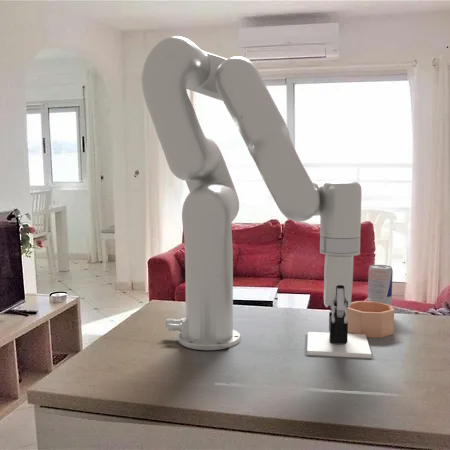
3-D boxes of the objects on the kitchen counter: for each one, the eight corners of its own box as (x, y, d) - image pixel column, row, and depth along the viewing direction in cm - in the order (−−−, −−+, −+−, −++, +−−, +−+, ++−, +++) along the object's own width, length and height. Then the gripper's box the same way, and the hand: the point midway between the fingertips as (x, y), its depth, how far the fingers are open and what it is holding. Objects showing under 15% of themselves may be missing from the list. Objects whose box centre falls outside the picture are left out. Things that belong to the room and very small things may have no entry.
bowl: (347, 337, 114) (347, 311, 113) (344, 324, 124) (345, 300, 123) (395, 340, 113) (396, 313, 112) (389, 326, 122) (389, 302, 121)
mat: (304, 357, 103) (304, 355, 103) (305, 336, 115) (305, 334, 115) (374, 361, 101) (374, 359, 101) (367, 339, 113) (367, 337, 113)
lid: (307, 354, 103) (307, 324, 102) (307, 335, 114) (308, 308, 114) (371, 358, 101) (372, 327, 101) (365, 338, 113) (366, 310, 112)
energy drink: (393, 316, 130) (395, 265, 129) (387, 321, 126) (388, 269, 124) (371, 312, 133) (372, 263, 132) (364, 318, 128) (365, 267, 127)
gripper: (319, 239, 115) (317, 323, 117) (320, 252, 98) (318, 351, 100) (356, 239, 113) (354, 325, 115) (364, 253, 97) (361, 353, 99)
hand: (337, 336), depth 108 cm, fingers open, 5 cm apart
